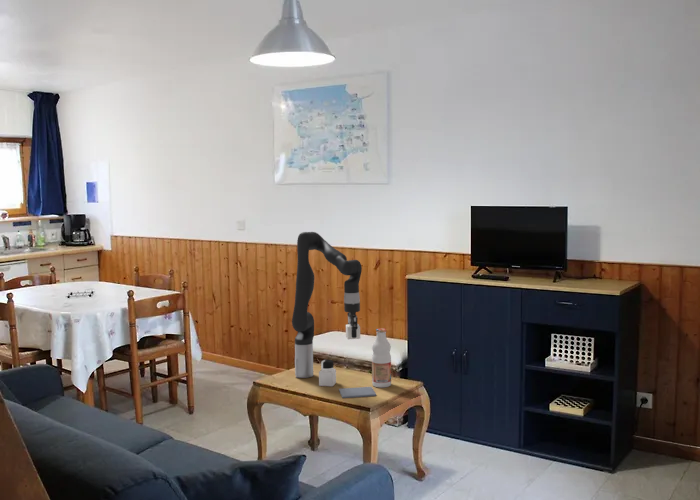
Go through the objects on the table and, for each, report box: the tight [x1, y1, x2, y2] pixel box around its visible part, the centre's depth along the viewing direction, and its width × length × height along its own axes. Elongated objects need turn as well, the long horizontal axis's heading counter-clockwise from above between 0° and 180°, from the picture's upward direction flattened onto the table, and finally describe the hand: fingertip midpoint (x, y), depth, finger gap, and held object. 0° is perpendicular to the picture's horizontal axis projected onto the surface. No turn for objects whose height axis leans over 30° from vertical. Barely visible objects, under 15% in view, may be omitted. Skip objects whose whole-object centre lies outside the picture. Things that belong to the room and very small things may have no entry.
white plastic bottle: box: [371, 327, 392, 389], centre depth 319 cm, size 9×9×28 cm
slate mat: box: [338, 386, 377, 399], centre depth 308 cm, size 16×12×1 cm
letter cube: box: [345, 323, 361, 340], centre depth 312 cm, size 6×6×6 cm
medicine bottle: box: [318, 359, 337, 387], centre depth 322 cm, size 7×7×12 cm
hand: (352, 335), depth 313 cm, fingers closed on letter cube, 6 cm apart
